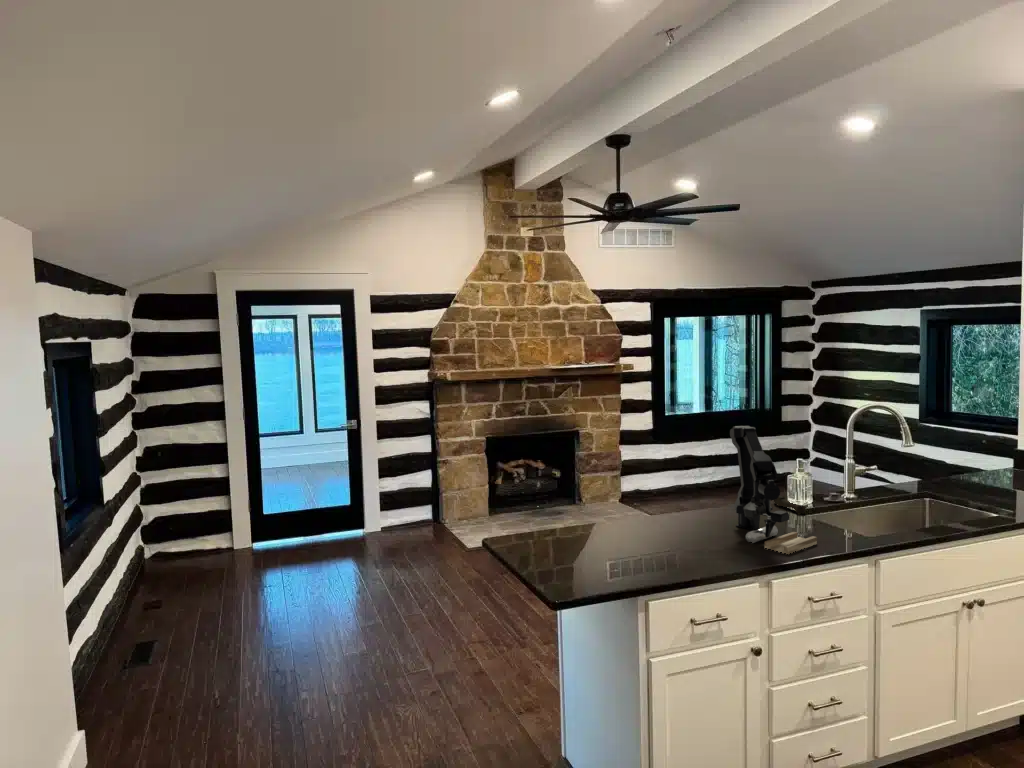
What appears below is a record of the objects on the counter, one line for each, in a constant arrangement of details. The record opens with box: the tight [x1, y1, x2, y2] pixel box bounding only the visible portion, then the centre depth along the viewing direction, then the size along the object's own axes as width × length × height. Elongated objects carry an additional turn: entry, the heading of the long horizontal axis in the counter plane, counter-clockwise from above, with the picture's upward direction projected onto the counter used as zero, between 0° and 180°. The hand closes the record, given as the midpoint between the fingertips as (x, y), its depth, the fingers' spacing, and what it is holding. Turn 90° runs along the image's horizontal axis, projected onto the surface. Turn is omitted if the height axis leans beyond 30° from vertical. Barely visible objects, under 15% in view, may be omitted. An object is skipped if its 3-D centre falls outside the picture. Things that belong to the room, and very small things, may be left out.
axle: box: [745, 525, 779, 544], centre depth 265 cm, size 14×4×4 cm, turn 127°
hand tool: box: [773, 494, 806, 514], centre depth 307 cm, size 19×4×5 cm, turn 12°
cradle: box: [764, 531, 818, 555], centre depth 256 cm, size 9×18×2 cm, turn 127°
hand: (762, 535), depth 265 cm, fingers closed on axle, 4 cm apart
